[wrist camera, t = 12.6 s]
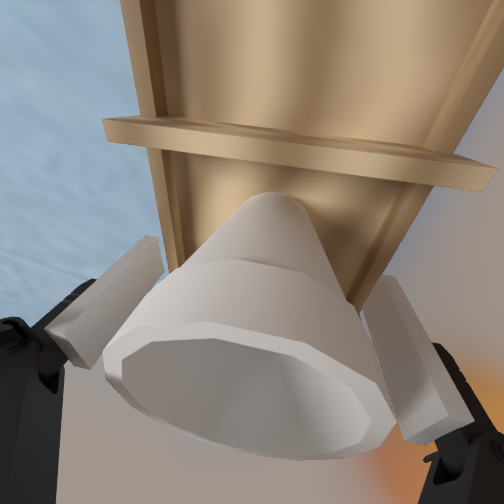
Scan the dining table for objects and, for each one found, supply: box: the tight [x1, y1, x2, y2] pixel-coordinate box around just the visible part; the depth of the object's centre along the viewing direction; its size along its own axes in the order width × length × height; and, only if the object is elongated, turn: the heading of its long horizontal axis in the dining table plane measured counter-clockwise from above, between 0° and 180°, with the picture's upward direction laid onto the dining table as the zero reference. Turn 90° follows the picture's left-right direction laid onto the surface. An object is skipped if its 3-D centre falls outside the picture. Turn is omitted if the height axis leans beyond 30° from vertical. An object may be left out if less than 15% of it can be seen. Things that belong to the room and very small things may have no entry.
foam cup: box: [102, 192, 397, 461], centre depth 13 cm, size 10×9×13 cm
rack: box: [102, 0, 504, 322], centre depth 13 cm, size 18×28×6 cm, turn 175°
